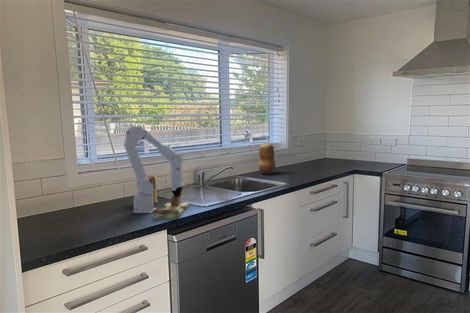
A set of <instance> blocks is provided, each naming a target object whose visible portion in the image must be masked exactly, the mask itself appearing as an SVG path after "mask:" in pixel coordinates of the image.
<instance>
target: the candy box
mask: <svg viewBox="0 0 470 313" xmlns="http://www.w3.org/2000/svg"><path fill="white" fill-rule="evenodd" d="M146 176H147V178H148V179H149V182H150V183H151V184H152V185H153V187H154V190H153V192H152V193H153V204H155V203H156V204H157V202H158V194H157V193H158V192H157V191H158V190H157V176H156V175H146Z"/></svg>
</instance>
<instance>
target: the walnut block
mask: <svg viewBox="0 0 470 313" xmlns="http://www.w3.org/2000/svg"><path fill="white" fill-rule="evenodd" d="M170 203H171V206H179V205H180V203H181V196H174V195H173V196H172V197H170Z"/></svg>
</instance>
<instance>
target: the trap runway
mask: <svg viewBox="0 0 470 313" xmlns="http://www.w3.org/2000/svg"><path fill="white" fill-rule="evenodd" d="M189 205H190V203H189V202H180V205H179V206H171V202H166V203H164V205H163V208H159V209H156V210H154V211H153V219H180V217H181V216H182V215H183V214H184V212H185V211H186V210H187V209H188V208H189V207H190V206H189Z"/></svg>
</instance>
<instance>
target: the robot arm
mask: <svg viewBox="0 0 470 313" xmlns="http://www.w3.org/2000/svg"><path fill="white" fill-rule="evenodd" d="M125 135H126V136H125V140H124V148H125V149H124V150H125V151H126V155H127V157H128V159H129V162H130V165H131V168H132V169H133V170H132V171H133V172H134V175H135V178H136V179H135V181H136V184H137V185H136V189H137V190H138V192H137V193H136V194H135V195H134V196H133V201H132V202H133V214H152V213H154V210H157V208H156V207H154V203H153V193H152V192H153V190H154V187H153V185H152V184H151V183H150V182H149V179H148V178H147V176H148V175H146V172H145V169H144V166H143V163H142V161H141V158H140V156H139V153H138V150H137V149H138V148H136V147H137V145H138V143H139V142H140V141H141V140H146V141H147V142H149V144H151V145H152V146H154V147H155V148H156V149H158V153H159V154H160V155H161V156H162V157H164V158H165V159H166V160H167V161H168V163H170V179H171V181H170V182H171V185H170V186H171V188H170V190H171V193H172V194H173V196H180V197H181V195H182V191H183V190H184V186H185V183H183V170H182V164H183V162H184V159H183V156H182V155H180V154H178V153H177V152H178V151H176V150H174V149H172V147H171V145H169V144H166V143H165V144H163V143H162V142H160V141H159V140H158V139H157V138H156V137H155V136H154V135H153V134H152V133H151V132H149V131H148V130H146V129H144V128H143V127H142V126H139V125H138V126H136V125H132V126H130V127H129V128H128V130H127V131H126V132H125Z"/></svg>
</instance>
